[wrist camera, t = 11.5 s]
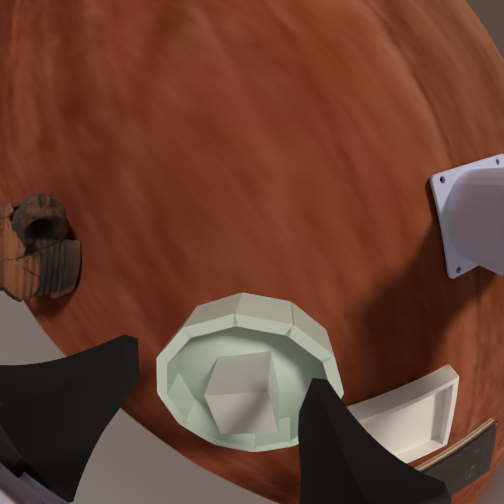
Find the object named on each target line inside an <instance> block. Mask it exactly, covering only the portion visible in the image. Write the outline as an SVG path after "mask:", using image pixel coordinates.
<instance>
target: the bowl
mask: <svg viewBox="0 0 504 504" xmlns="http://www.w3.org/2000/svg"><path fill="white" fill-rule="evenodd" d="M266 351H271V354H272V358H273V363H274V368H275V372H276V377H277V382H278V386H279V422H278V431H277V432H266V433H250V434H221V433H220V431H219V428H218V426H217V424H216V422H215V419H214V417H213V415H212V413H211V410H210V408H209V405H208V403H207V401H206V398H205V396H204V394H205V392H206V389H207V386H208V384H209V381H210V378H211V376H212V373H213V370H214V367H215V365H216V362H217V359H218V357H220V356H231V355H241V354H250V353H258V352H266ZM312 378H319V379H327V380H328V381H329V383H330V384H331V386H332V387H333V388H334V390H335V391H336V393H337V394H338V396H339V397H340V398H342V396H343V394H344V391H343V387H342V384H341V380H340V376H339V372H338V368H337V365H336V361H335V357H334V354H333V351H332V347H331V344H330V341H329V337H328V334H327V331H326V329H325V328H323V327H322V326H321V325H320V324H318V323H317V322H316V321H315V320H314V319H312V318H311V317H310V316H309V315H307V314H306V313H305V312H304V311H302V310H301V309H300V308H299V307H297V306H296V305H295V304H294V303H293V302H291V301H286V300H280V299H274V298H269V297H264V296H258V295H253V294H248V293H238V294H235V295H232V296H228V297H225V298H222V299H219V300H215V301H212V302H209V303H205V304H202V305H199V306H197V307H196V308H195V309H194V311H193V312H192V313H191V314H190V315H189V317H188V318H187V319H186V320H185V321H184V323H183V324H182V325H181V326H180V327H179V329H178V330H177V331H176V332H175V333H174V335H173V336H172V337H171V339H170V340H169V342H168V343H167V344H166V346H165V347H164V349H163V350H162V351H161V353H160V354H159V356H158V357H157V393H158V395H159V396H160V398H161V399H162V401H163V402H164V404H165V405H166V407H167V408H168V409H169V411H170V412H171V414H172V415H173V416H174V418H175V419H176V421H177V422H178V423H180V425H182V426H183V427H185V428H186V429H188V430H190V431H191V432H193V433H195V434H196V435H198V436H200V437H201V438H203V439H205V440H207V441H208V442H210V443H212V444H214V445H219V446H223V447H228V448H234V449H239V450H245V451H251V452H254V451H255V452H259V451H266V450H272V449H279V448H284V447H290V446H295V445H297V444H299V442H298V418H299V411H300V408H301V406H302V403H303V401H304V398H305V396H306V393H307V391H308V388H309V386H310V383H311V381H312Z"/></svg>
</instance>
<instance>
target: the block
mask: <svg viewBox="0 0 504 504" xmlns="http://www.w3.org/2000/svg"><path fill="white" fill-rule="evenodd" d="M204 396H205V398H206V401H207V403H208V405H209V408H210V410H211V413H212V415H213V417H214V419H215V422H216V424H217V426H218V428H219V431H220V433H221V434H250V433H266V432H277V431H278V422H279V386H278V382H277V377H276V372H275V368H274V363H273V358H272V354H271V351H266V352H258V353H250V354H241V355H231V356H220V357H218V359H217V362H216V365H215V367H214V370H213V373H212V376H211V378H210V381H209V384H208V386H207V389H206V392H205V394H204Z"/></svg>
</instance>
